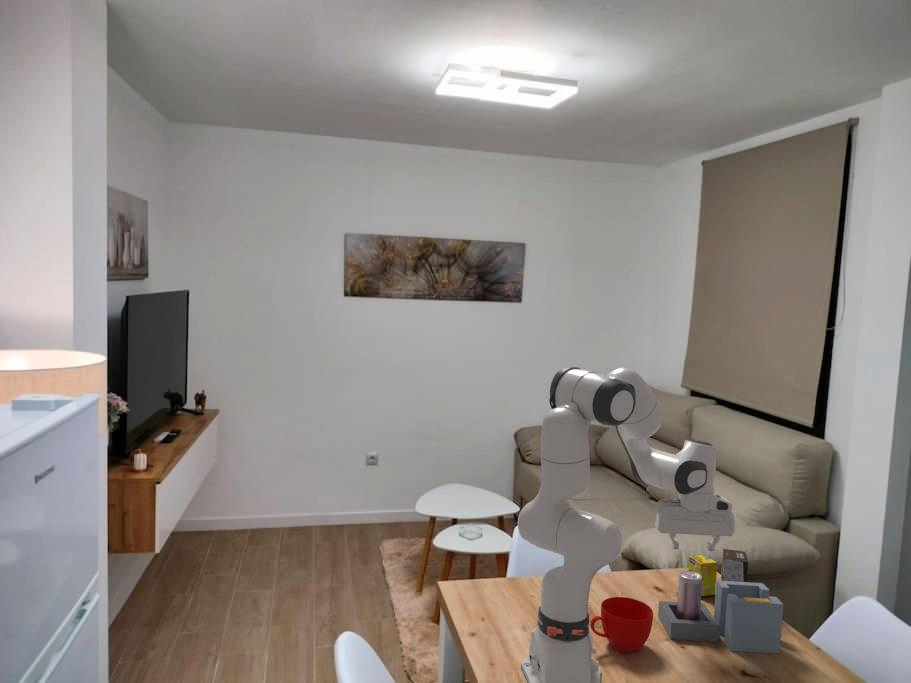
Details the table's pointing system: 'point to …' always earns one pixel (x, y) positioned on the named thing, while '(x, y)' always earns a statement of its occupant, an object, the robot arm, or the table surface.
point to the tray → (688, 624)
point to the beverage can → (689, 596)
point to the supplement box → (705, 573)
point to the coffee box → (734, 566)
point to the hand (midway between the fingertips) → (692, 549)
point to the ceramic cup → (624, 623)
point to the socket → (748, 617)
